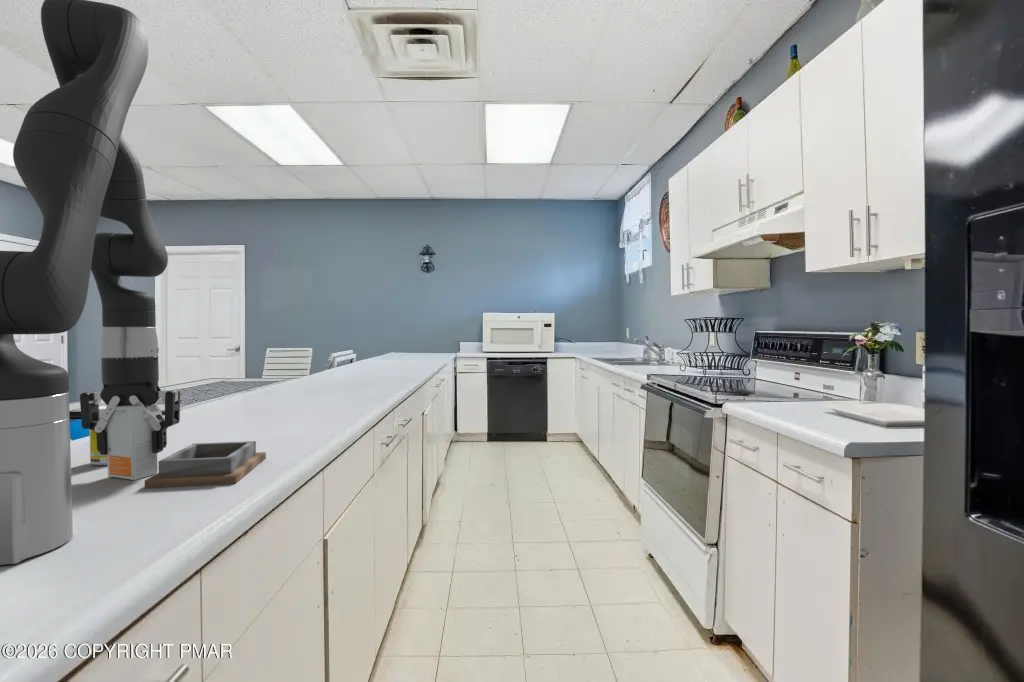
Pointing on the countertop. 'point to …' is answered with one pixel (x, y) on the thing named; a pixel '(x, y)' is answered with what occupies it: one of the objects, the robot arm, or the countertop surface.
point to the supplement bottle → (94, 454)
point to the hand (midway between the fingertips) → (132, 452)
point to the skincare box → (130, 444)
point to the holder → (207, 464)
